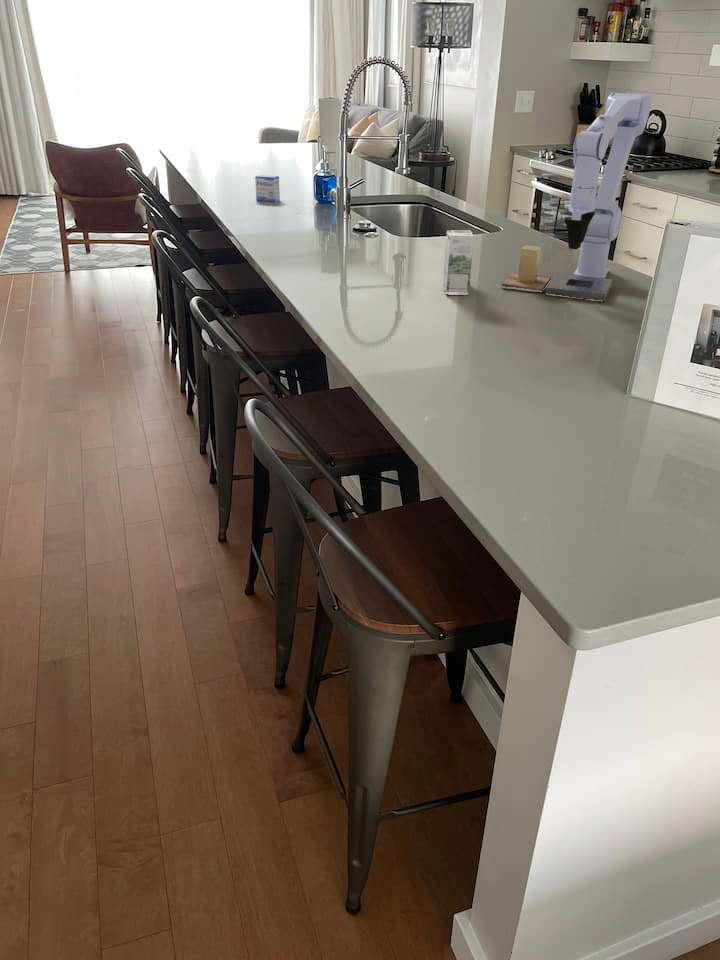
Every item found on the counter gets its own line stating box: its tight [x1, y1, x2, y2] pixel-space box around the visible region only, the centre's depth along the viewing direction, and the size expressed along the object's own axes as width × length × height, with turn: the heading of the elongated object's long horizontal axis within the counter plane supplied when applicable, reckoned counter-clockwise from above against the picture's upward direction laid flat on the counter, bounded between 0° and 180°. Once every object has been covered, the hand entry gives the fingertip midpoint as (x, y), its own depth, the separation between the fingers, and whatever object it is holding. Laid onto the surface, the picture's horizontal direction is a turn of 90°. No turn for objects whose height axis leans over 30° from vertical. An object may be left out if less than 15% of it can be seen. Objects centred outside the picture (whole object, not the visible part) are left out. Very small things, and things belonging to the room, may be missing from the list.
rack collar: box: [544, 272, 613, 301], centre depth 194 cm, size 14×14×2 cm
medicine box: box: [254, 174, 281, 203], centre depth 292 cm, size 8×4×9 cm, turn 73°
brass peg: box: [518, 244, 541, 283], centre depth 196 cm, size 4×4×8 cm
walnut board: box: [501, 271, 553, 292], centre depth 199 cm, size 12×10×1 cm
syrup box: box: [442, 229, 475, 293], centre depth 189 cm, size 6×6×14 cm
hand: (575, 245), depth 192 cm, fingers open, 7 cm apart
